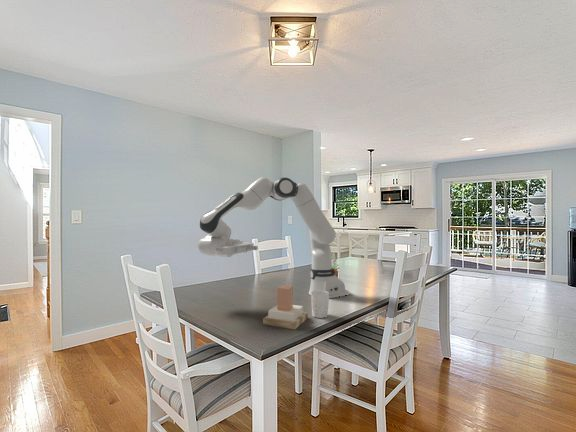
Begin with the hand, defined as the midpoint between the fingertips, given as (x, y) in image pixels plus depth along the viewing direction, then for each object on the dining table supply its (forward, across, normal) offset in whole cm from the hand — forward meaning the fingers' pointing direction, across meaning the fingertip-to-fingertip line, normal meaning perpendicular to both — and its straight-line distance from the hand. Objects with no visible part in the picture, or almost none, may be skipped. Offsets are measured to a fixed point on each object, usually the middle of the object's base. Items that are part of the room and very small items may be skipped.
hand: (251, 249), depth 139 cm
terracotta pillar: (+20, -7, +23) cm, 31 cm away
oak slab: (+21, -6, +29) cm, 36 cm away
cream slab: (+21, -6, +26) cm, 34 cm away
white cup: (+31, +6, +28) cm, 43 cm away
